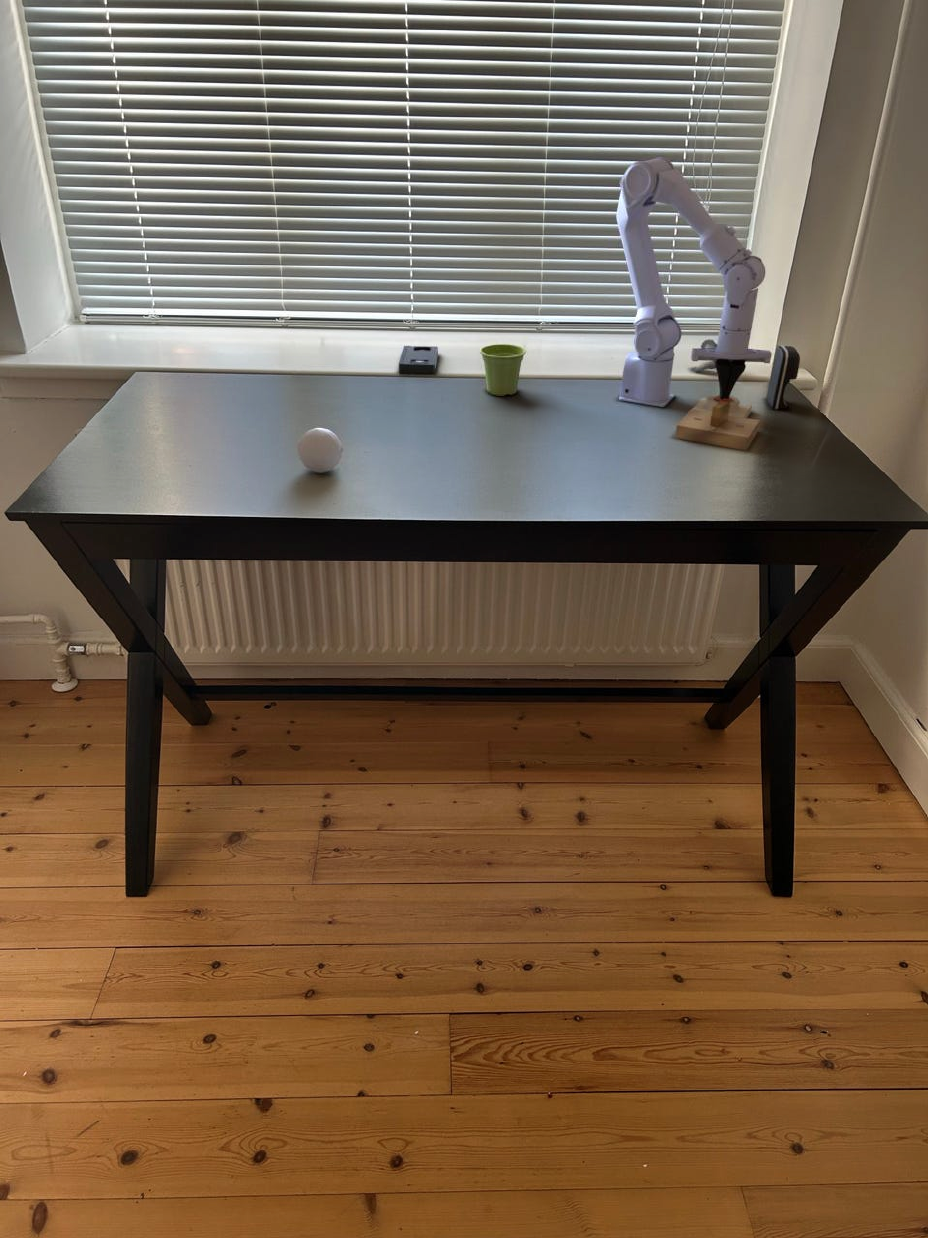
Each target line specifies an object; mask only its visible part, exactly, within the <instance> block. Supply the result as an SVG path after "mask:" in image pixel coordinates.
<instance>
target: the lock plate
mask: <svg viewBox="0 0 928 1238" xmlns="http://www.w3.org/2000/svg"><path fill="white" fill-rule="evenodd" d="M711 415H712V412H706V411H700V410H693V408H691V409H689V411H688V412H687V413H686V414H685V415H684V416H683V418H681V420H680V421H679V423H677V425H676V429H675V435H674V436H675V437H674V438H675V439H679V440H685V441H691V442H697V443H703V444H709V445H714V446H720V447H724V448H725V447H726V448H731V449H737V450H741V451H747V450H748V449H749V447H750V445H751V443H752V442H753V440H754V439H755V437H756V436H757V434H758V432H759V427H760V422H761V420H760V419H754V418H748V417H747V418H743V417H737V416H730V415H728V419H727V420H726V421H724V422H723V423H722V424H720V425H719V426H717V427H715V426H711V425H710V422H711Z"/></svg>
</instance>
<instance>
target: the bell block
mask: <svg viewBox="0 0 928 1238" xmlns="http://www.w3.org/2000/svg"><path fill="white" fill-rule="evenodd" d="M716 396H720V393H718V394H711V395H708V397H707V398H706V397H701V398H700V400H699V401H697V403H696V404H695V405H694V406H693V407H692V409H693V410H700V411H706V412H712V409H713V406H714V405H716V404H717V403H719V402H717V401H715V397H716ZM729 397H731V398H732V402H730V408H729V414H728V415H730V416H737V417H743V418H748V417H749V416H750V414H751V413H752V408H753V405H751V404H744V403H741V400H740V398H738V397H735V396H733V395H730V396H729Z"/></svg>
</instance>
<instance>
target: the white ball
mask: <svg viewBox="0 0 928 1238" xmlns="http://www.w3.org/2000/svg"><path fill="white" fill-rule="evenodd" d="M343 449H344V448H343V446H342V442H341V440H340V439H339V437H338V436H337V435H336V434H335V433H334V432H333V431H331V430H329V429H327V428H323V427H315V428H314V427H313V428H312V429H309V430H308V431H306V432H305V433H304V434H303V435H302V436H301V437H300V439H299V441H298V445H297V455H298V457H299V458H298V459H299V460H300V461H301V463H302V465H303V466H304V467H305V468H306V469H307V470H309V471H311V472H314V473H321V474H322V473H327V472H330V471H332V470H333V469H334V468H336V467H337V466H338V464H339V463H340V461H341V459H342V455H343V451H344V450H343Z"/></svg>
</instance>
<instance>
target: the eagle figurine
mask: <svg viewBox="0 0 928 1238" xmlns="http://www.w3.org/2000/svg"><path fill="white" fill-rule="evenodd" d="M712 347H717V343H716V342H715V341H714V339H705V340H704V341H702V343H701V344H700V348H712ZM714 369H716V366H715V363H714V361H704V362H702V363H700V364H699V365H697V366H695V367H692V368H691V371H693V372H700V371H704V370H714Z"/></svg>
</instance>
